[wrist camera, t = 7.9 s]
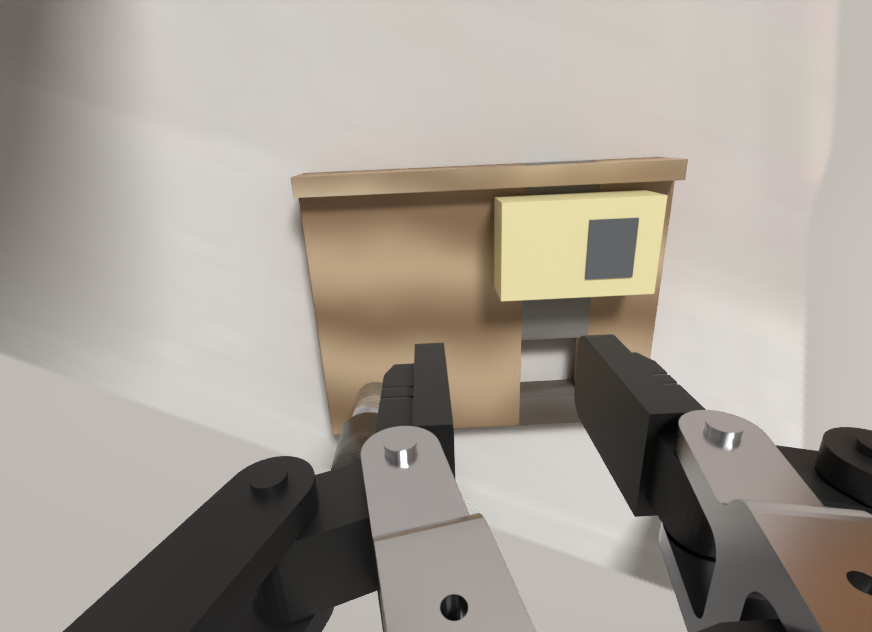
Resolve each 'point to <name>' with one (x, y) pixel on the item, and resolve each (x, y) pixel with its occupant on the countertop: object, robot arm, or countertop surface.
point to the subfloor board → (455, 281)
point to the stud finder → (577, 244)
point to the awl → (358, 425)
